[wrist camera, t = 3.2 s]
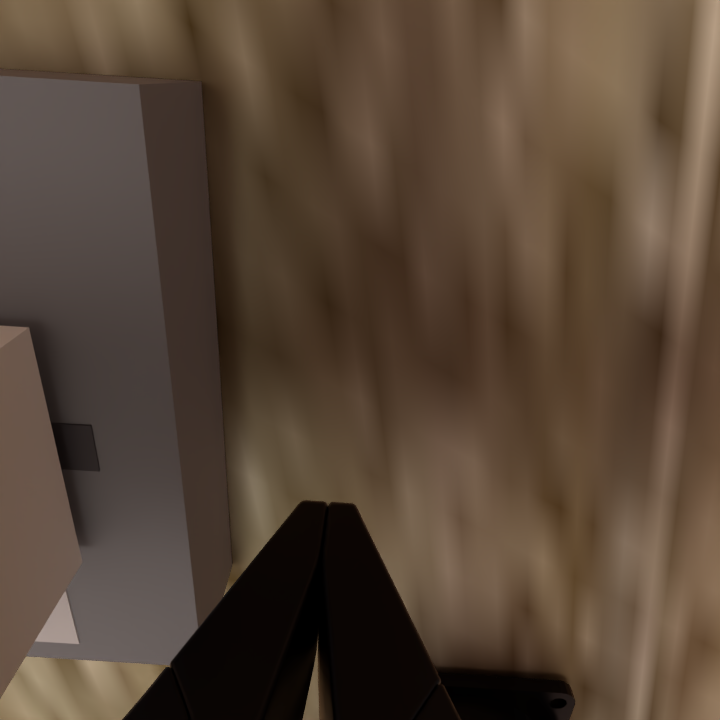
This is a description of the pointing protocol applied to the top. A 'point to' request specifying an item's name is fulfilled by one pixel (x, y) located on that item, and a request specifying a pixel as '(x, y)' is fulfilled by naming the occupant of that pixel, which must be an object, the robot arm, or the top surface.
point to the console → (120, 348)
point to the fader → (29, 506)
